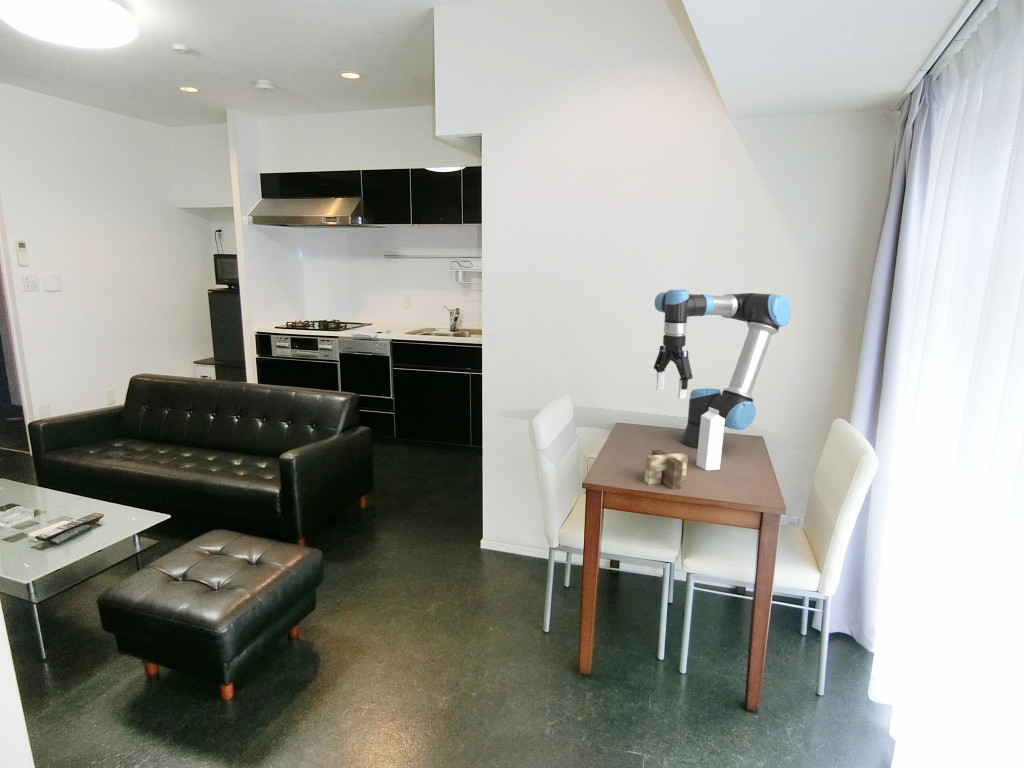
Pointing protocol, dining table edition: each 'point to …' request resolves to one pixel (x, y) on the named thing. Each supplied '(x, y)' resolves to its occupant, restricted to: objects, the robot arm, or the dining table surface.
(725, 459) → the dining table surface
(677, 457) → the cross plate
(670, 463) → the slotted base
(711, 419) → the milk
